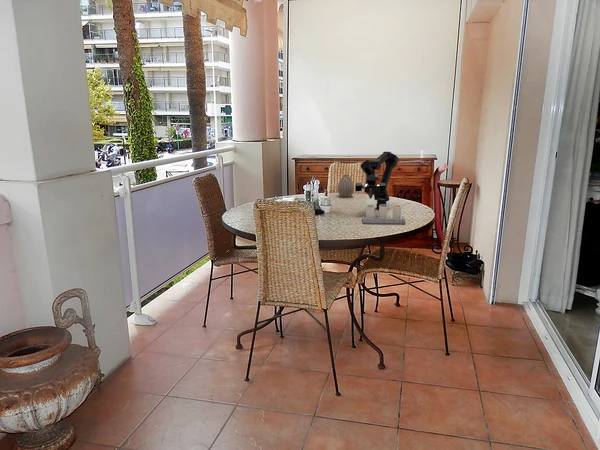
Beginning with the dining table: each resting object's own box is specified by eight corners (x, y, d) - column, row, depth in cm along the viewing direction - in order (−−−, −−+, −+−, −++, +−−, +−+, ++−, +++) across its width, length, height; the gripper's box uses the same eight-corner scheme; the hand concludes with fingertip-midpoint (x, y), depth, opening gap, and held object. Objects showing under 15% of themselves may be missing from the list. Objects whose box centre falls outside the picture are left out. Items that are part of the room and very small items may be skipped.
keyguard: (362, 218, 266) (362, 214, 265) (403, 219, 263) (403, 215, 262) (362, 222, 256) (362, 218, 255) (405, 223, 253) (405, 219, 252)
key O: (392, 218, 264) (393, 204, 262) (399, 218, 263) (400, 204, 261) (393, 220, 259) (393, 205, 257) (400, 220, 259) (401, 205, 257)
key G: (365, 219, 263) (366, 204, 261) (373, 219, 263) (373, 204, 261) (365, 220, 259) (366, 205, 257) (373, 220, 259) (373, 206, 257)
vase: (340, 198, 335) (340, 176, 331) (335, 196, 348) (335, 174, 344) (356, 198, 338) (357, 175, 334) (350, 195, 351) (351, 173, 347)
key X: (378, 218, 265) (379, 203, 262) (386, 218, 264) (386, 204, 262) (379, 220, 260) (379, 205, 258) (386, 220, 260) (387, 205, 258)
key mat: (362, 219, 267) (362, 218, 267) (402, 220, 264) (402, 218, 264) (362, 224, 256) (362, 222, 256) (405, 224, 253) (405, 223, 253)
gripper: (355, 169, 270) (355, 190, 262) (386, 169, 267) (387, 190, 259) (355, 180, 279) (355, 201, 271) (385, 180, 277) (385, 201, 269)
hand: (370, 198), depth 267 cm, fingers closed
